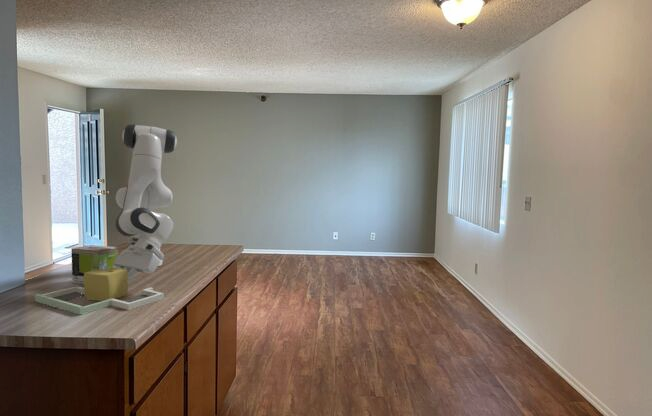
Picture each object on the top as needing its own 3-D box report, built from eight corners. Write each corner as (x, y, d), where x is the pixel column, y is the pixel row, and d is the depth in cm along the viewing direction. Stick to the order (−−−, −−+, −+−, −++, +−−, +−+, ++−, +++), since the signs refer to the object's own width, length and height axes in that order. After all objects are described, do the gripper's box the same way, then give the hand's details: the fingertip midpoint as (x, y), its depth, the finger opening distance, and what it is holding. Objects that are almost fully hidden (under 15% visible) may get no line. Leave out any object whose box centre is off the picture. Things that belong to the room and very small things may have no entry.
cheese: (105, 292, 155) (105, 266, 154) (129, 294, 152) (129, 268, 151) (83, 300, 145) (82, 272, 144) (108, 303, 142) (107, 275, 141)
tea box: (119, 281, 170) (118, 246, 169) (99, 287, 161) (98, 250, 159) (92, 277, 175) (91, 243, 174) (71, 283, 166) (70, 247, 164)
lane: (35, 301, 142) (35, 294, 142) (109, 283, 167) (109, 277, 167) (97, 320, 126) (97, 312, 126) (169, 296, 151) (169, 290, 150)
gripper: (122, 242, 164) (100, 271, 156) (157, 247, 154) (136, 278, 146) (132, 251, 168) (111, 279, 160) (167, 256, 159) (146, 287, 151)
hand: (123, 279), depth 153 cm, fingers closed
